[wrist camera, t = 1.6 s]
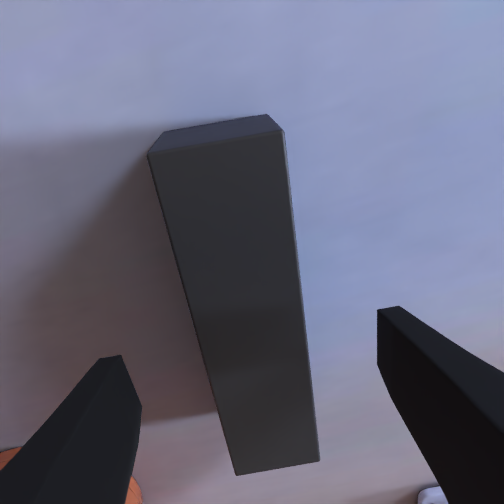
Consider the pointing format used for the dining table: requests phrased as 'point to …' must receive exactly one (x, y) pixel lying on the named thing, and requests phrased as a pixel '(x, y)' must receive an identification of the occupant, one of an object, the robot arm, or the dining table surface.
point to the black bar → (242, 283)
